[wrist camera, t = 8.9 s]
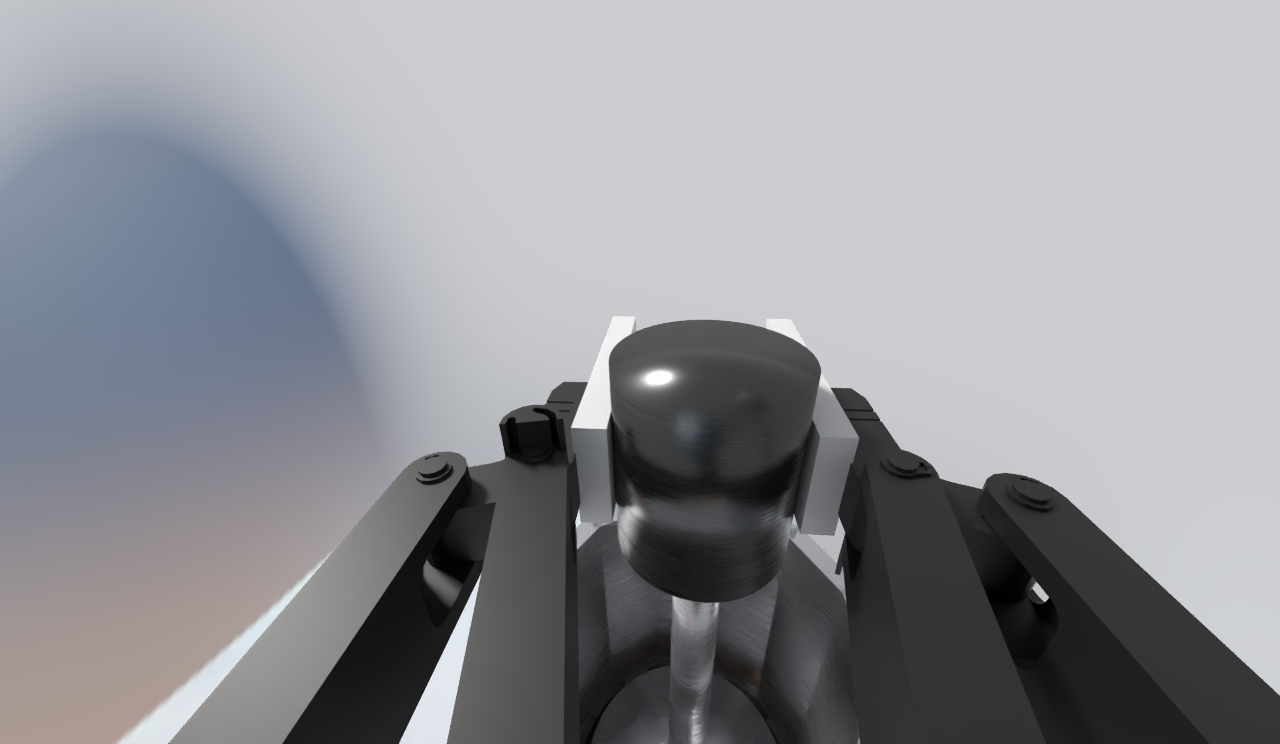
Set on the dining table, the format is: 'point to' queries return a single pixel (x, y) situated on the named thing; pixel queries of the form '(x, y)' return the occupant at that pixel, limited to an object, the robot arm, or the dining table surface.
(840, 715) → the press pot
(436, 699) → the dining table surface
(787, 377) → the plunger
